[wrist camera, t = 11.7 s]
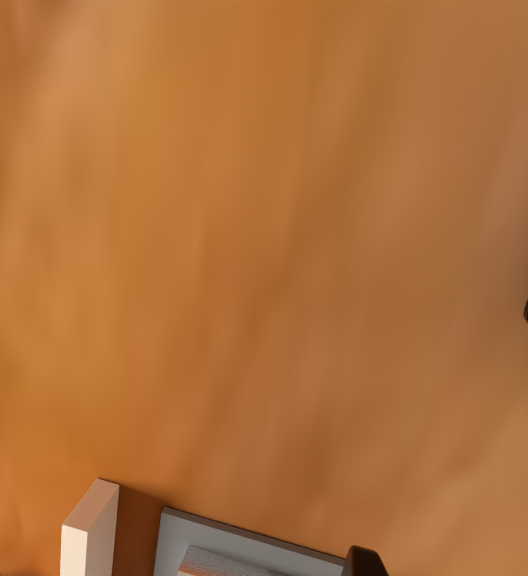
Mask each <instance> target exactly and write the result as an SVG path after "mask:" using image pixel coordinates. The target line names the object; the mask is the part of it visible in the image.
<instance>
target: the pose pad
mask: <svg viewBox="0 0 528 576" xmlns="http://www.w3.org/2000/svg"><path fill="white" fill-rule="evenodd" d="M188 545H193V546H196V547H199V548H203V549H206V550H209V551H213V552H216V553H219V554H223V555H226V556H229V557H233V558H236V559H239V560H242V561H246V562H249V563H252V564H256V565H259V566H262V567H266V568H269V569H272V570H276V571H279V572H282V573H286V574H289V575H292V576H341V573H342V570H343V567H344V564H345V560H344V559H340V558H337V557H333V556H330V555H327V554H323V553H320V552H317V551H313V550H310V549H306V548H303V547H300V546H296V545H293V544H290V543H286V542H283V541H279V540H276V539H273V538H269V537H266V536H263V535H259V534H256V533H252V532H249V531H246V530H242V529H239V528H236V527H232V526H229V525H225V524H222V523H219V522H215V521H212V520H209V519H205V518H202V517H198V516H195V515H192V514H188V513H185V512H182V511H178V510H175V509H171V508H168V507H164V509H163V510H162V512H161V520H160V528H159V535H158V543H157V551H156V559H155V566H154V574H153V576H177V573H178V569H179V567H180V564H181V562H182V559H183V557H184V555H185V552H186V550H187V547H188Z"/></svg>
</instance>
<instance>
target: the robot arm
mask: <svg viewBox="0 0 528 576" xmlns="http://www.w3.org/2000/svg"><path fill="white" fill-rule="evenodd" d="M523 315H524V318H525V320H526V322H527V323H528V301H527V303H526V306H525V309H524V314H523ZM341 576H389V575H388V573H387V571H386V569H385V566H384V564H383V562H382V560H381V558H380V556H379V555H378V553H377V552H375V551H374V550H370V549H367V548H364V547H360V546H357V545H353V546H351V547H350V549H349V551H348V554H347V557H346V560H345V564H344V567H343V570H342V573H341Z"/></svg>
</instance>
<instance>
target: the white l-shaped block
mask: <svg viewBox="0 0 528 576" xmlns="http://www.w3.org/2000/svg"><path fill="white" fill-rule="evenodd" d="M119 486H120V485H118V484H115V483H111V482H108V481H104V480H101V479H98V478H97V479H96V480H95V482H94V483H93V484H92V486H91V487H90V488H89V489H88V491H87V492H86V493H85V495H84V496H83V497H82V499H81V500H80V501H79V503H78V504H77V505H76V507H75V508H74V509H73V511H72V512H71V513H70V515H69V516H68V517H67V519H66V520H65V521H64V523H63V524H62V540H61V565H60V576H112V565H113V553H114V542H115V531H116V520H117V508H118V497H119Z"/></svg>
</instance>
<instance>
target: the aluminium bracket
mask: <svg viewBox="0 0 528 576" xmlns="http://www.w3.org/2000/svg"><path fill="white" fill-rule="evenodd" d="M177 576H292V575H289V574H286V573H282V572H279V571H276V570H272V569H269V568H266V567H262V566H259V565H256V564H252V563H249V562H246V561H242V560H239V559H236V558H233V557H229V556H226V555H223V554H219V553H216V552H213V551H209V550H206V549H203V548H199V547H196V546H193V545H188V547H187V550H186V552H185V555H184V557H183V559H182V562H181V564H180V567H179V569H178V573H177Z"/></svg>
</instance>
